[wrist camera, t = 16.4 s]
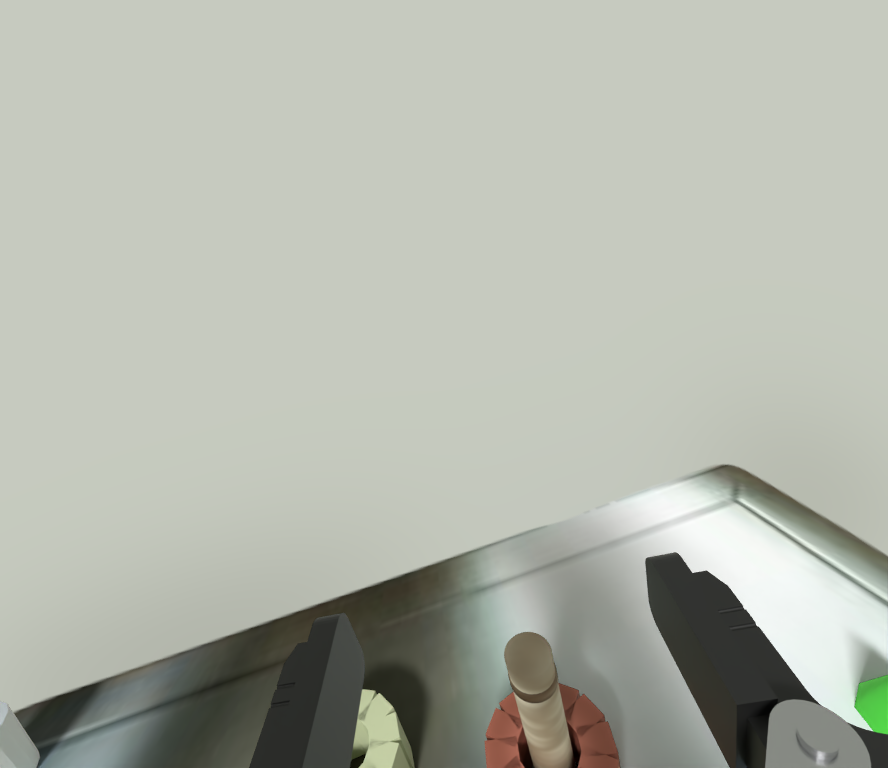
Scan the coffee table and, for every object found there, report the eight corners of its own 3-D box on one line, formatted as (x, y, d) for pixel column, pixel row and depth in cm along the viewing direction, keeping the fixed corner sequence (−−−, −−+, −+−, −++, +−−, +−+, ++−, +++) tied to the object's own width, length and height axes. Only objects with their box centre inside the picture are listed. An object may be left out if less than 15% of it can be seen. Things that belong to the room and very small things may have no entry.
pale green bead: (304, 887, 32) (279, 851, 30) (307, 750, 40) (287, 716, 39) (425, 826, 33) (408, 788, 32) (403, 707, 42) (389, 672, 40)
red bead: (507, 879, 30) (492, 840, 28) (492, 729, 38) (480, 691, 37) (645, 861, 29) (639, 819, 27) (598, 712, 38) (592, 673, 36)
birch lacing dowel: (544, 816, 32) (507, 682, 27) (535, 766, 35) (500, 635, 30) (586, 810, 32) (558, 673, 27) (574, 760, 35) (546, 627, 30)
